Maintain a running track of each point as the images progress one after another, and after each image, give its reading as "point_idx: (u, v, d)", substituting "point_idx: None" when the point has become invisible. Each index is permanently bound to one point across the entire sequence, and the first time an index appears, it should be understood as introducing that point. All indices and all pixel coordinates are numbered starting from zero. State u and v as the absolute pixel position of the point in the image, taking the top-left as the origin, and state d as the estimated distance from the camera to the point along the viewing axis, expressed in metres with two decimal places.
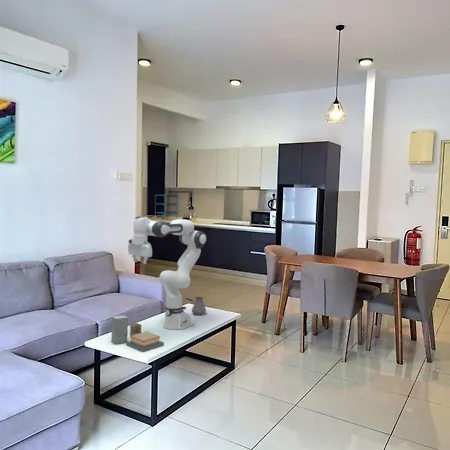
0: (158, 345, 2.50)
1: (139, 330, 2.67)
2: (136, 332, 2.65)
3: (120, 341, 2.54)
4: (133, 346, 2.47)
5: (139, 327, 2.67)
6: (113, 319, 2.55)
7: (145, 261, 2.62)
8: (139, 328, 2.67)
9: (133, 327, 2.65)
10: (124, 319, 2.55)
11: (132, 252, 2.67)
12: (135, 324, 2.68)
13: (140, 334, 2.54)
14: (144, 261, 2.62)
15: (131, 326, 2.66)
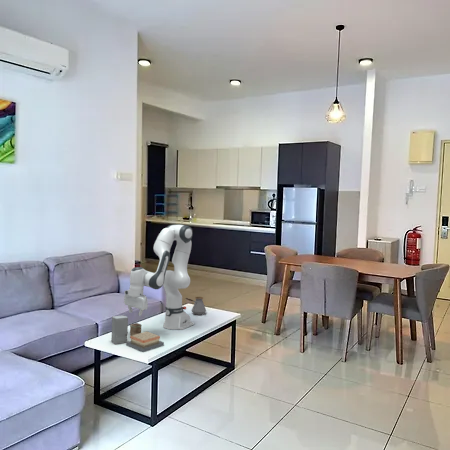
0: (158, 345, 2.50)
1: (139, 330, 2.67)
2: (136, 332, 2.65)
3: (120, 341, 2.54)
4: (133, 346, 2.47)
5: (139, 327, 2.67)
6: (113, 319, 2.55)
7: (141, 313, 2.63)
8: (139, 328, 2.67)
9: (133, 327, 2.65)
10: (124, 319, 2.55)
11: (128, 303, 2.69)
12: (135, 324, 2.68)
13: (140, 334, 2.54)
14: (140, 313, 2.63)
15: (131, 326, 2.66)
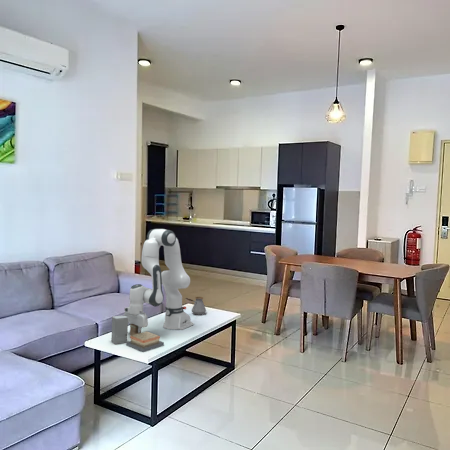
0: (158, 345, 2.50)
1: None
2: (136, 332, 2.65)
3: (120, 341, 2.54)
4: (133, 346, 2.47)
5: None
6: (113, 319, 2.55)
7: (139, 330, 2.65)
8: None
9: (133, 327, 2.65)
10: (124, 319, 2.55)
11: (128, 320, 2.70)
12: None
13: (140, 334, 2.54)
14: (138, 330, 2.65)
15: (131, 326, 2.66)
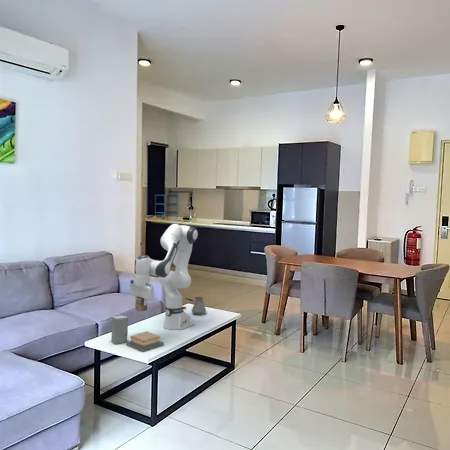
0: (158, 345, 2.50)
1: None
2: (142, 305, 2.54)
3: (120, 341, 2.54)
4: (133, 346, 2.47)
5: None
6: (113, 319, 2.55)
7: (145, 303, 2.54)
8: None
9: (139, 299, 2.54)
10: (124, 319, 2.55)
11: (134, 293, 2.59)
12: None
13: (140, 334, 2.54)
14: (144, 303, 2.54)
15: (136, 299, 2.56)
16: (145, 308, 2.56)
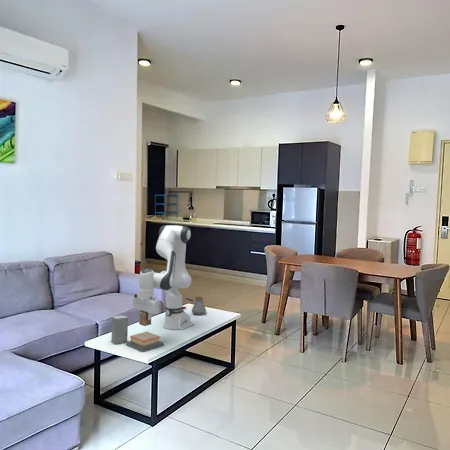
0: (158, 345, 2.50)
1: None
2: (146, 319, 2.49)
3: (120, 341, 2.54)
4: (133, 346, 2.47)
5: None
6: (113, 319, 2.55)
7: (150, 317, 2.49)
8: None
9: (143, 314, 2.49)
10: (124, 319, 2.55)
11: (137, 307, 2.53)
12: None
13: (140, 334, 2.54)
14: (148, 317, 2.48)
15: (140, 313, 2.50)
16: (149, 322, 2.51)
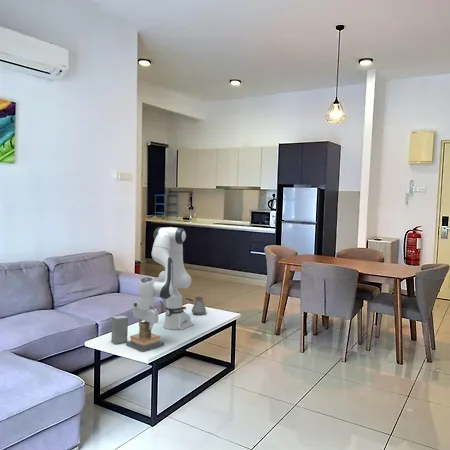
0: (158, 345, 2.50)
1: (149, 329, 2.51)
2: (146, 331, 2.49)
3: (120, 341, 2.54)
4: (133, 346, 2.47)
5: (149, 325, 2.51)
6: (113, 319, 2.55)
7: (151, 326, 2.49)
8: None
9: (143, 325, 2.49)
10: (124, 319, 2.55)
11: (137, 316, 2.54)
12: (145, 322, 2.52)
13: None
14: (150, 327, 2.48)
15: (140, 324, 2.51)
16: (149, 334, 2.52)
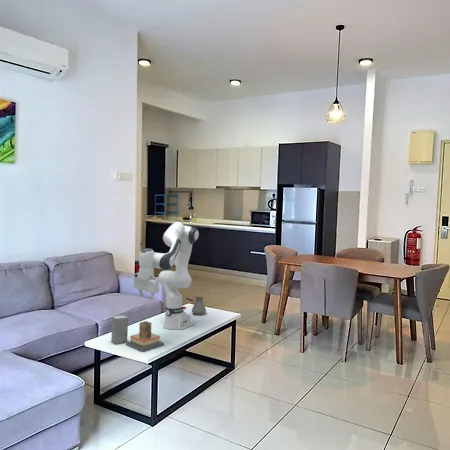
0: (158, 345, 2.50)
1: (149, 329, 2.51)
2: (146, 331, 2.49)
3: (120, 341, 2.54)
4: (133, 346, 2.47)
5: (149, 325, 2.51)
6: (113, 319, 2.55)
7: (152, 296, 2.51)
8: (149, 327, 2.51)
9: (143, 325, 2.49)
10: (124, 319, 2.55)
11: (138, 286, 2.56)
12: (145, 322, 2.52)
13: None
14: (151, 297, 2.50)
15: (140, 324, 2.51)
16: (149, 334, 2.52)
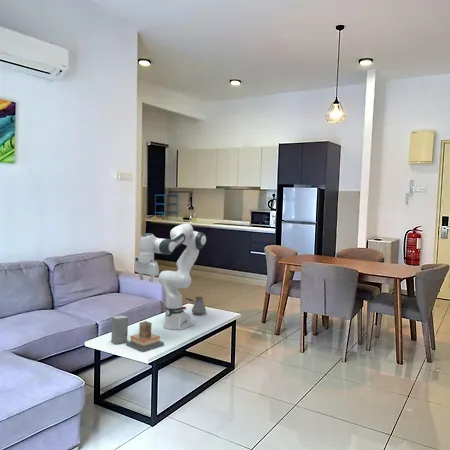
0: (158, 345, 2.50)
1: (149, 329, 2.51)
2: (146, 331, 2.49)
3: (120, 341, 2.54)
4: (133, 346, 2.47)
5: (149, 325, 2.51)
6: (113, 319, 2.55)
7: (152, 279, 2.59)
8: (149, 327, 2.51)
9: (143, 325, 2.49)
10: (124, 319, 2.55)
11: (138, 270, 2.65)
12: (145, 322, 2.52)
13: None
14: (151, 279, 2.59)
15: (140, 324, 2.51)
16: (149, 334, 2.52)
